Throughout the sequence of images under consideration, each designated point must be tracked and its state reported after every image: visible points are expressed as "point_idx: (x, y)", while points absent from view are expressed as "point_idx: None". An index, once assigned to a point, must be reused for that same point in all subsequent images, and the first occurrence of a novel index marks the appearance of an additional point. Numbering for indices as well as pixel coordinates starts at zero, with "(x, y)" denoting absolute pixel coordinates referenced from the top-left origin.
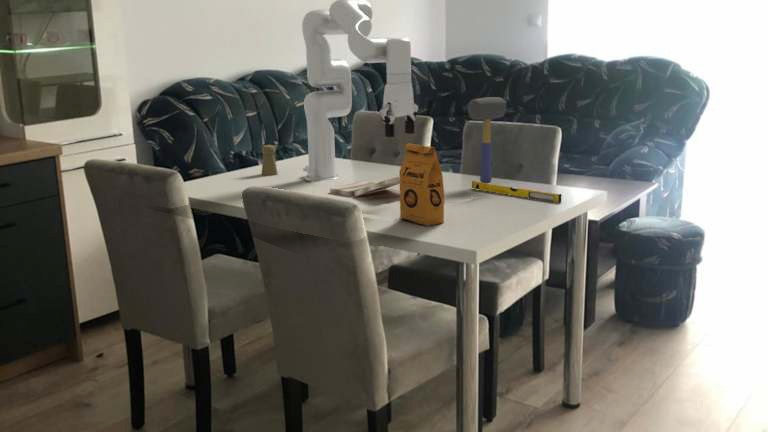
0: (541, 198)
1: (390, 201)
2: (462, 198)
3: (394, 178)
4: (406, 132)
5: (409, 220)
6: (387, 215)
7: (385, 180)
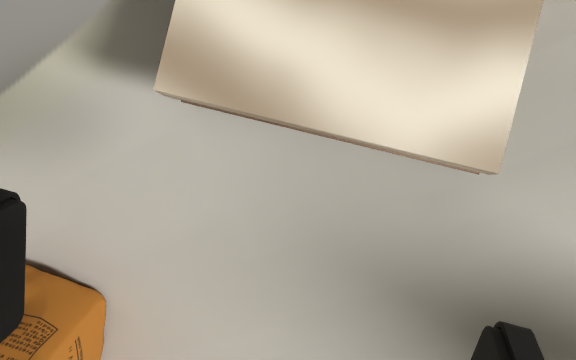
0: None
1: None
2: None
3: (259, 115)
4: (479, 347)
5: None
6: (44, 172)
7: (163, 92)
